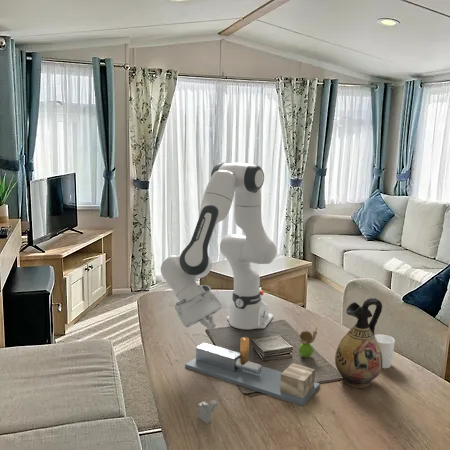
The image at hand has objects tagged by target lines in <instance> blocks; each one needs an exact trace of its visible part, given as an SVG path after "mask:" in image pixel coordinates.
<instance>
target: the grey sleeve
mask: <svg viewBox="0 0 450 450" xmlns="http://www.w3.org/2000/svg"><path fill="white" fill-rule="evenodd" d="M195 350H196V351H195V357H196V361H200V362H203V363H206V364H209V365H212V366H215V367H218V368H222V369H225V370H228V371H231V372H235V371H236V370H238V369H239V368H237V367H235V359H237V358H240V352H239V351H238V352H237V351H233V350H230V349H227V348H224V347H221V346H217V345H214V344H210V343H206V342H203V343H201V344H199V345H197V346H196V348H195Z"/></svg>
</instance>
